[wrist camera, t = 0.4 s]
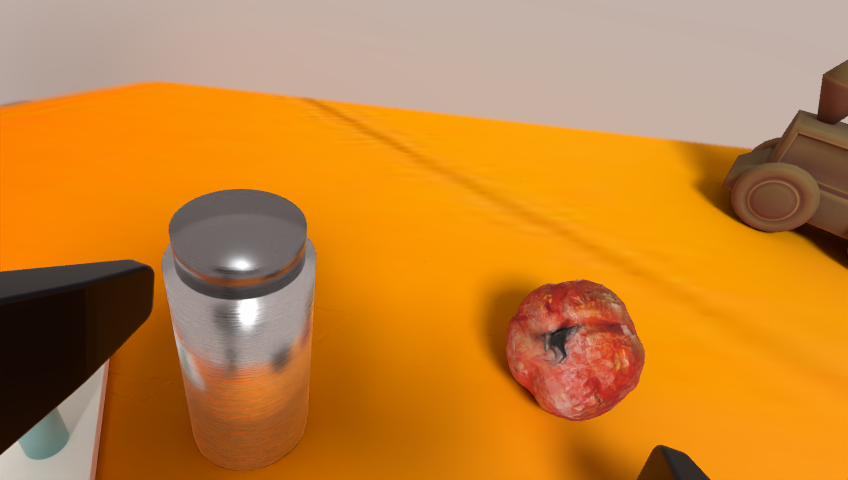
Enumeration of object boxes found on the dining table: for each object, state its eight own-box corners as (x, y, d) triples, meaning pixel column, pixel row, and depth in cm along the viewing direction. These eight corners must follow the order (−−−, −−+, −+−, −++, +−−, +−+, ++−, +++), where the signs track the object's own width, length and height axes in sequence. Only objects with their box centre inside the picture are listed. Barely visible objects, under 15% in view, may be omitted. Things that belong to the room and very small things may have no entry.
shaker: (262, 491, 22) (254, 298, 15) (166, 437, 24) (116, 234, 17) (328, 401, 27) (345, 215, 19) (243, 358, 28) (230, 169, 21)
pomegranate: (525, 345, 35) (448, 315, 28) (610, 279, 33) (552, 228, 26) (590, 444, 31) (519, 441, 23) (692, 374, 29) (651, 345, 21)
